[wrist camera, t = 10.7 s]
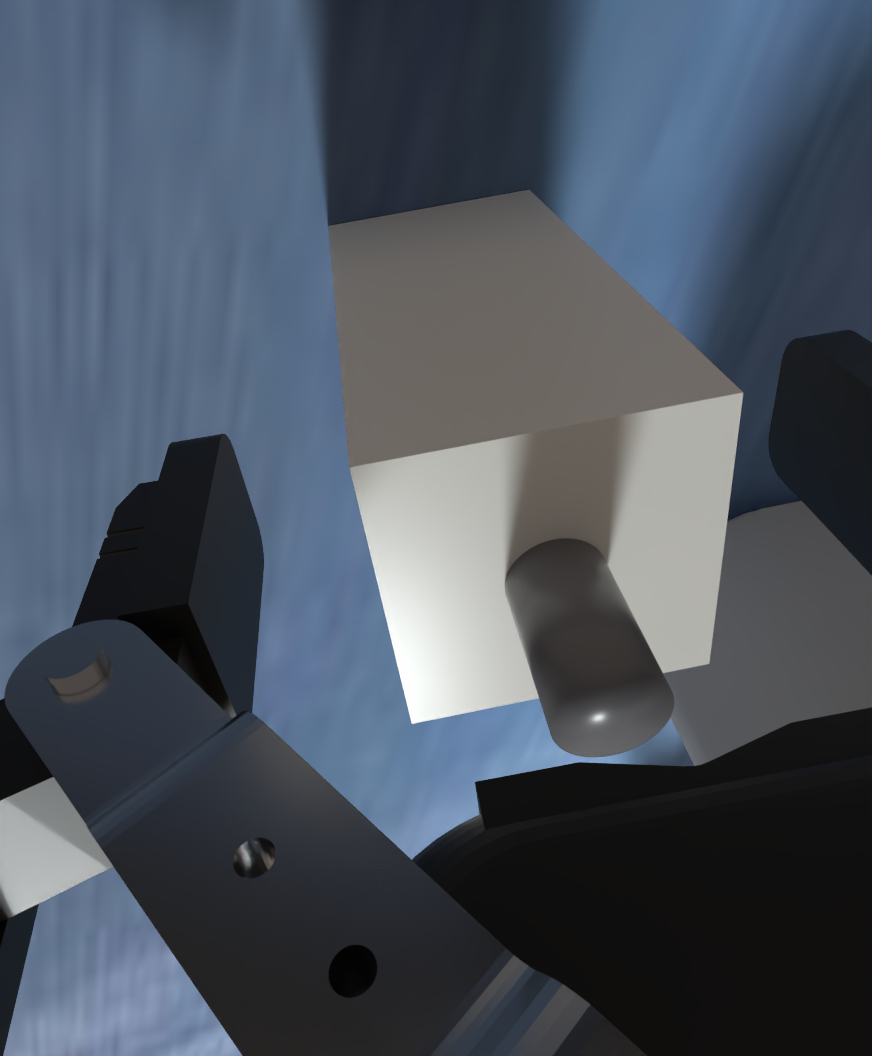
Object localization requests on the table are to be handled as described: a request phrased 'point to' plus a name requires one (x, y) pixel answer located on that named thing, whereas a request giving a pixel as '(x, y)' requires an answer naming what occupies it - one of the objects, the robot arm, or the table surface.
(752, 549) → the can
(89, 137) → the table surface
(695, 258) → the table surface
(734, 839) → the robot arm
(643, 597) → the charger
